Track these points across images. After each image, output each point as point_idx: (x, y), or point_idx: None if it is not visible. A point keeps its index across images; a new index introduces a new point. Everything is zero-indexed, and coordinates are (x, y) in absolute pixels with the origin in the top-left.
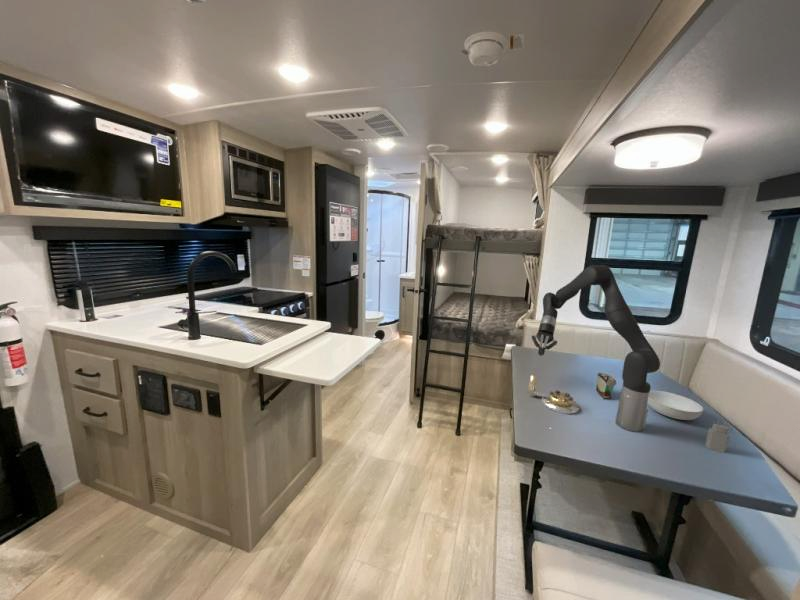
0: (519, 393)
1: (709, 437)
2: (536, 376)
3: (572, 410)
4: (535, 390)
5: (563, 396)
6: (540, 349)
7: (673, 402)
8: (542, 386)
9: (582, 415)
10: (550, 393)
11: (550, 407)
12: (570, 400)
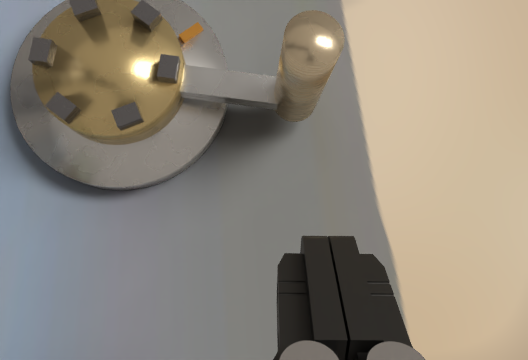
0: (358, 115)
1: None
2: (292, 30)
3: (57, 14)
4: (273, 94)
5: (92, 74)
6: (367, 296)
7: None
8: (235, 329)
9: (11, 34)
10: (176, 58)
11: (177, 1)
12: (52, 37)
